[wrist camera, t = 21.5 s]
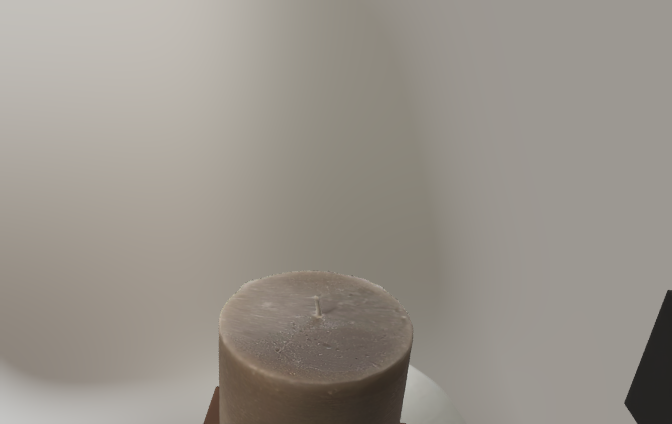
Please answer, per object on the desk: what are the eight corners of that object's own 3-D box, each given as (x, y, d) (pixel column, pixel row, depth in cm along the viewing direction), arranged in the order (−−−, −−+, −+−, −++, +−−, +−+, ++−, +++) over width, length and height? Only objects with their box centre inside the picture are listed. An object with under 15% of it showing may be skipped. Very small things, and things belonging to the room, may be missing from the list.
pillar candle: (335, 634, 25) (368, 394, 19) (183, 532, 29) (170, 307, 23) (407, 484, 33) (446, 282, 27) (280, 420, 37) (289, 231, 31)
